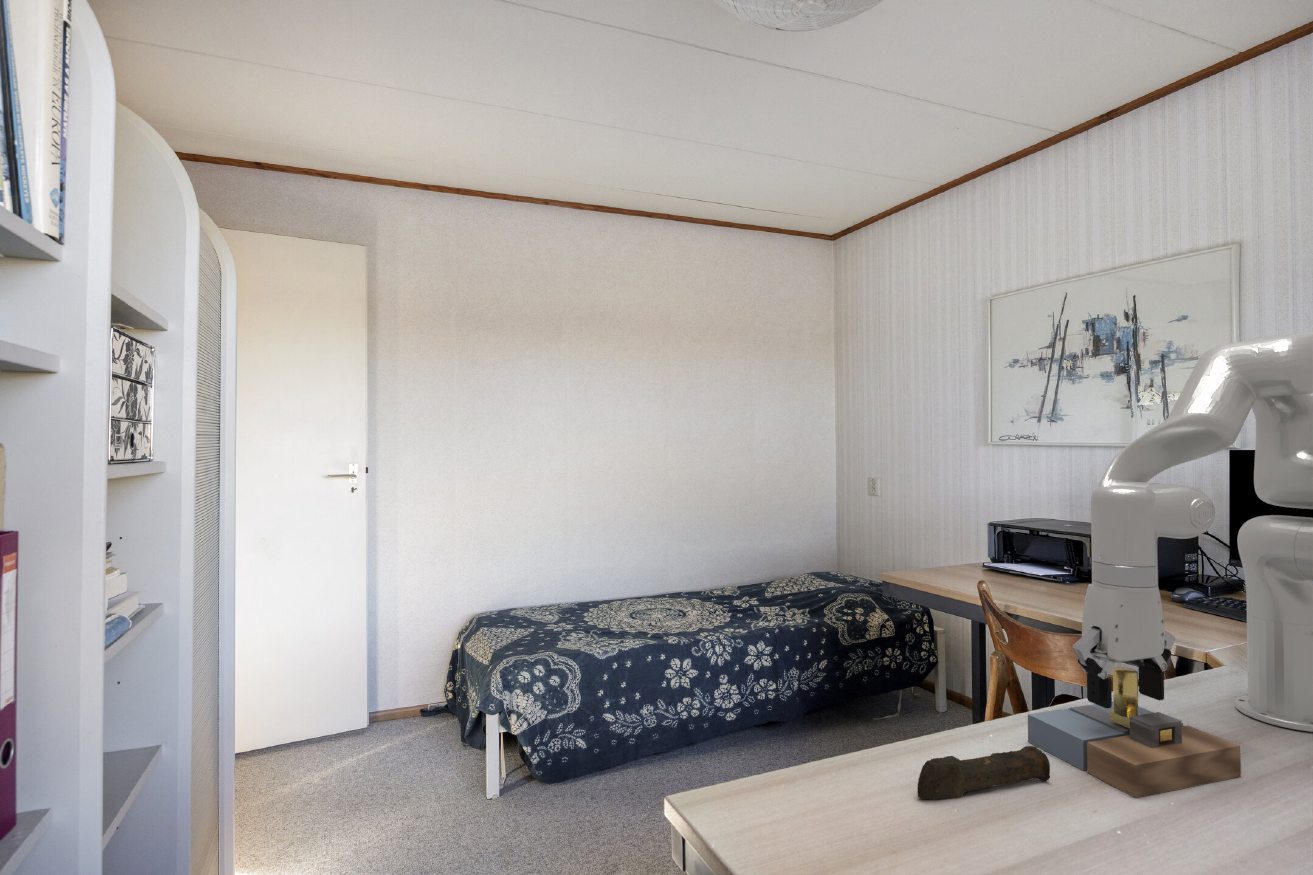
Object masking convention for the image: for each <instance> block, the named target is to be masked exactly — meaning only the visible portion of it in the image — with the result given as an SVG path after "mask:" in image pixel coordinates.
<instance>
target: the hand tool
mask: <svg viewBox="0 0 1313 875" xmlns="http://www.w3.org/2000/svg"><path fill="white" fill-rule="evenodd" d="M1050 778H1051V763H1050V759H1049V758H1048V756H1047V754H1046V753H1045V752H1043V751H1042V749H1041V750H1040V748H1039V749H1038V747H1037V746H1035V745H1034V746H1033V745H1025V746H1024V747H1022V748H1021V749H1019V750H1014V751H1012V750H1010V751H1007V752H1006V751H1004V752H995V753H994V752H993V753H992V754H990V755H987V756H981V757H976V758H969V759H967V758H966V759H959V758H957V757H956V756H953V755H946V756H943V757H936V758H935V757H934V758H931V759H930V760H926V761H925V763H924V764H923V765H922V767H921V771H920V773H919V776H918V780H917V798H919V799H924V800H935V801H936V800H937V801H939V800H940V801H941V800H948V799H960V798H963V796H964V795H963V794H965V793H967V792H969V791H975V790H981V789H987V788H988V789H989V788H992V787H994V786H995V787H996V786H1002V785H1006V784H1007V785H1008V784H1012V783H1013V784H1014V783H1019V782H1026V781H1030V780H1034V779H1035V780H1036V779H1038V780H1040V781H1042V782H1045V783H1046V782H1048V780H1049V779H1050Z"/></svg>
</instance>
